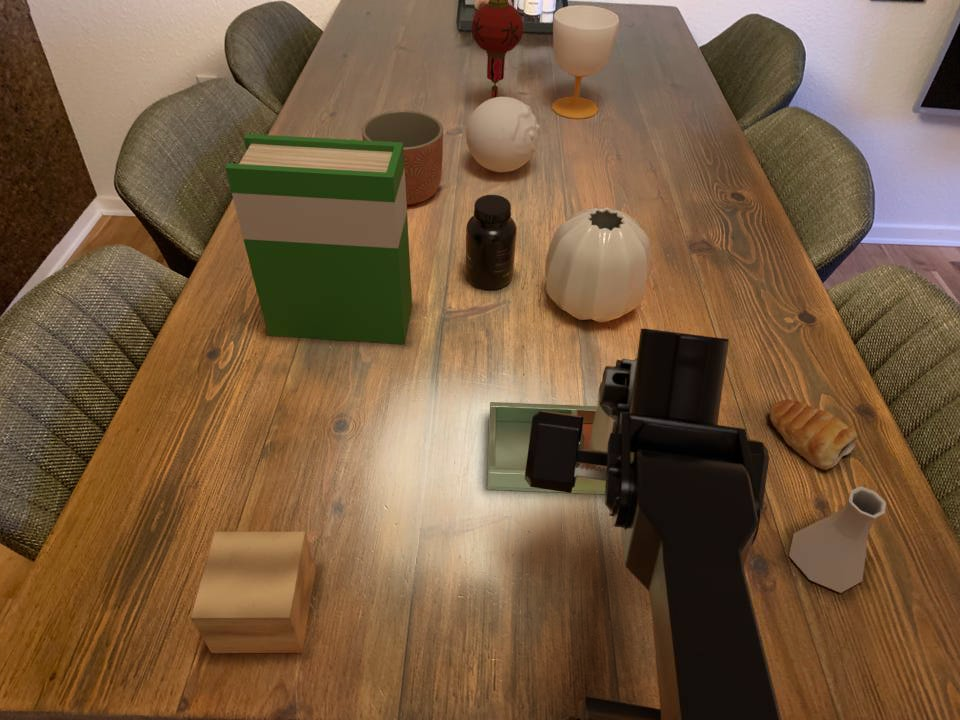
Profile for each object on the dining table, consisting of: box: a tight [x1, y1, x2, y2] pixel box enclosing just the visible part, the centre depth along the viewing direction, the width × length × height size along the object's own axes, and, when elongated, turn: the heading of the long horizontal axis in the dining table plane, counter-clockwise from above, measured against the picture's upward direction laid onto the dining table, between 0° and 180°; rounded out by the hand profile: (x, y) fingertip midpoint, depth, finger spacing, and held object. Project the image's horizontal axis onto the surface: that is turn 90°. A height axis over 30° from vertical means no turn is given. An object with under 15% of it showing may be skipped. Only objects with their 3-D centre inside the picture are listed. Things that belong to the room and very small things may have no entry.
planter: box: [361, 109, 444, 205], centre depth 112 cm, size 12×12×11 cm
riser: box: [190, 531, 317, 654], centre depth 63 cm, size 8×8×7 cm
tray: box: [486, 401, 606, 495], centre depth 78 cm, size 10×19×3 cm, turn 88°
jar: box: [587, 381, 618, 471], centre depth 74 cm, size 7×7×11 cm
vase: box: [544, 206, 652, 323], centre depth 93 cm, size 14×14×13 cm
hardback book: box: [224, 133, 413, 345], centre depth 85 cm, size 18×7×24 cm, turn 86°
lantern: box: [470, 0, 524, 99], centre depth 127 cm, size 10×10×30 cm
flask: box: [788, 485, 887, 594], centre depth 67 cm, size 7×7×10 cm
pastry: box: [769, 399, 858, 471], centre depth 80 cm, size 9×7×4 cm
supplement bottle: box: [464, 194, 518, 291], centre depth 97 cm, size 7×7×12 cm
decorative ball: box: [465, 96, 541, 173], centre depth 118 cm, size 12×12×12 cm
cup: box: [551, 4, 620, 120], centre depth 132 cm, size 12×12×17 cm
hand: (631, 450), depth 66 cm, fingers open, 9 cm apart
